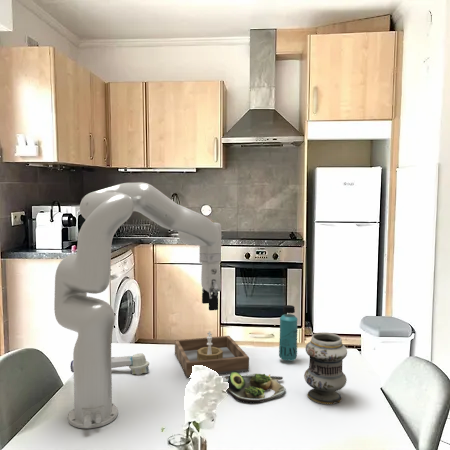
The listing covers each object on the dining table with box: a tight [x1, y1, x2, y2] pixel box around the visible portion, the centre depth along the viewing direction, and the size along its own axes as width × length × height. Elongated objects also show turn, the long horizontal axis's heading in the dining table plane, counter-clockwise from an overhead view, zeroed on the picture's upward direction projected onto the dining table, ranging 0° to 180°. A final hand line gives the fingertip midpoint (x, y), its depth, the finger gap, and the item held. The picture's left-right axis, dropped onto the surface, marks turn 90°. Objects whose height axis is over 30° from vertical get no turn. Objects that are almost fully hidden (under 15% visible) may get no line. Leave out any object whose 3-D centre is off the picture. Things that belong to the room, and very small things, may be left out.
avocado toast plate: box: [223, 372, 286, 404], centre depth 133 cm, size 19×18×5 cm
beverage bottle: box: [278, 304, 299, 361], centre depth 154 cm, size 6×7×20 cm
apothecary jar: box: [303, 331, 348, 405], centre depth 127 cm, size 12×12×18 cm
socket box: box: [174, 335, 250, 379], centre depth 153 cm, size 23×21×5 cm
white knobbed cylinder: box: [70, 353, 150, 376], centre depth 144 cm, size 5×7×25 cm
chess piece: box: [206, 330, 213, 355], centre depth 153 cm, size 5×5×10 cm
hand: (209, 306), depth 152 cm, fingers open, 9 cm apart
